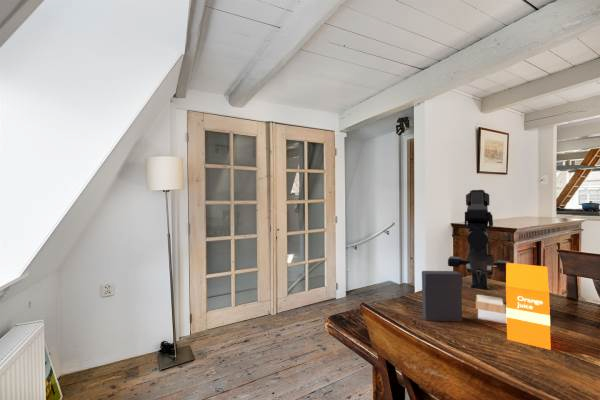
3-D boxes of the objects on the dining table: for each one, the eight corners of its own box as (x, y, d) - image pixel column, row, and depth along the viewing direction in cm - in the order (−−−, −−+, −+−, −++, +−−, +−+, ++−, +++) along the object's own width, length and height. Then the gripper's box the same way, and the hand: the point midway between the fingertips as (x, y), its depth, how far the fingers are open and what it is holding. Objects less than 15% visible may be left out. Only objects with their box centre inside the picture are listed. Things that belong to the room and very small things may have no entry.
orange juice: (508, 328, 80) (506, 260, 80) (549, 338, 74) (547, 264, 75) (506, 339, 74) (505, 265, 74) (551, 350, 68) (549, 270, 69)
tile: (476, 294, 101) (503, 297, 97) (476, 301, 101) (503, 305, 97) (475, 300, 94) (504, 305, 90) (475, 308, 94) (505, 313, 90)
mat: (478, 301, 102) (478, 300, 102) (534, 309, 94) (534, 308, 94) (477, 318, 87) (477, 317, 87) (544, 330, 78) (544, 329, 78)
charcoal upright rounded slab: (456, 316, 89) (455, 270, 89) (463, 322, 85) (462, 273, 85) (421, 315, 90) (420, 270, 90) (426, 321, 86) (425, 273, 86)
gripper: (445, 245, 96) (446, 290, 95) (513, 249, 85) (514, 299, 85) (448, 241, 105) (449, 282, 105) (510, 244, 95) (511, 289, 95)
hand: (478, 288), depth 97 cm, fingers closed
